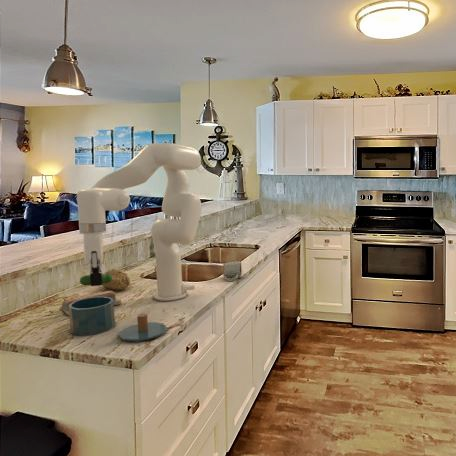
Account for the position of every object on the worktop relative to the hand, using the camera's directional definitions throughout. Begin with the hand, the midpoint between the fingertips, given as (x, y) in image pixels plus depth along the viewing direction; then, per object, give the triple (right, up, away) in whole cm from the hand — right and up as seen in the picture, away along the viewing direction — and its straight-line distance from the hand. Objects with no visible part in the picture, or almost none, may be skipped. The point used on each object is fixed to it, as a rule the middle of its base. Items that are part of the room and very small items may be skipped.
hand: (96, 283), depth 134 cm
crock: (-1, -14, 0) cm, 14 cm away
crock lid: (+17, -15, -5) cm, 23 cm away
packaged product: (-13, -12, +20) cm, 26 cm away
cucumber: (0, 0, 0) cm, 0 cm away
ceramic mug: (+32, -6, +60) cm, 68 cm away
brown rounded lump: (-16, -8, +46) cm, 49 cm away
